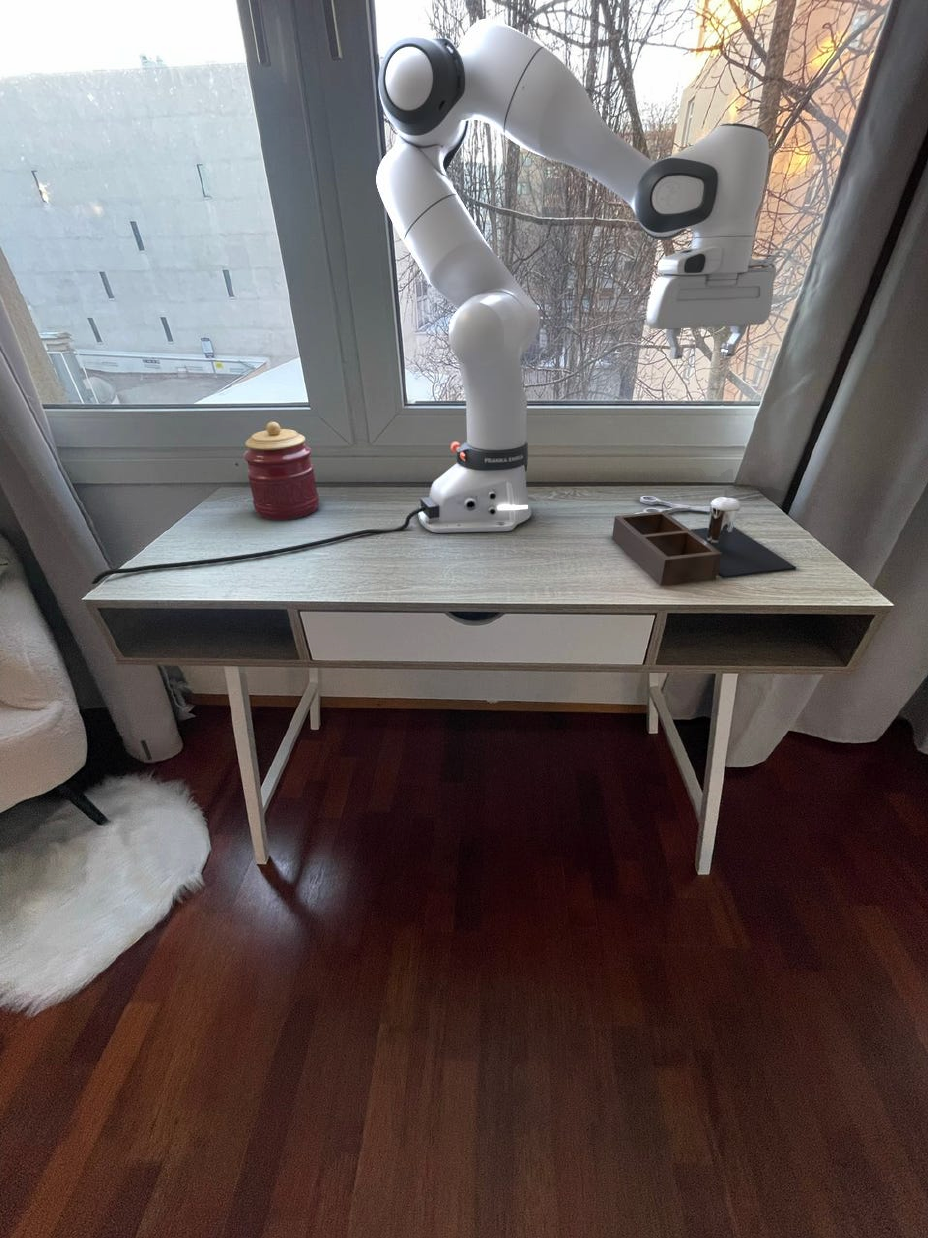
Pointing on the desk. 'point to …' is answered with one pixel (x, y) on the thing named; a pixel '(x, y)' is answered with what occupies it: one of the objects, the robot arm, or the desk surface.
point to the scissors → (676, 507)
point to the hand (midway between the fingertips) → (701, 356)
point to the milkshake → (722, 521)
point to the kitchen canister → (281, 474)
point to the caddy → (666, 548)
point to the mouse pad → (746, 556)
